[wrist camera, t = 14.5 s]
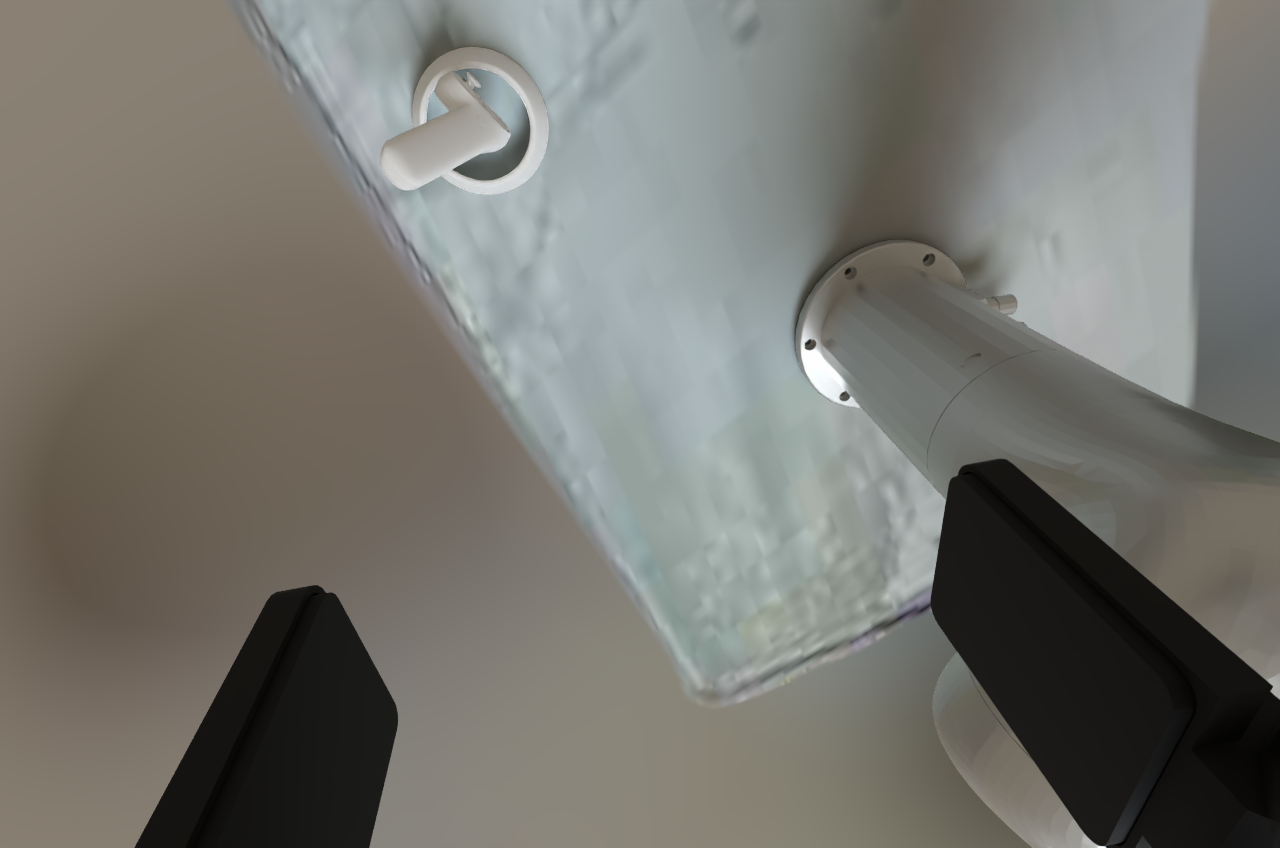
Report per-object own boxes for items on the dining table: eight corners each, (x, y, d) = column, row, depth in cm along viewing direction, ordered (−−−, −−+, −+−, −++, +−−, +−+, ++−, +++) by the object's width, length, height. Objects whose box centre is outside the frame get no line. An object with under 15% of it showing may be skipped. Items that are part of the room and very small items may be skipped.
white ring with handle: (286, 174, 31) (312, 71, 26) (439, 97, 38) (483, 5, 33) (401, 285, 33) (447, 210, 28) (526, 191, 40) (581, 118, 35)
